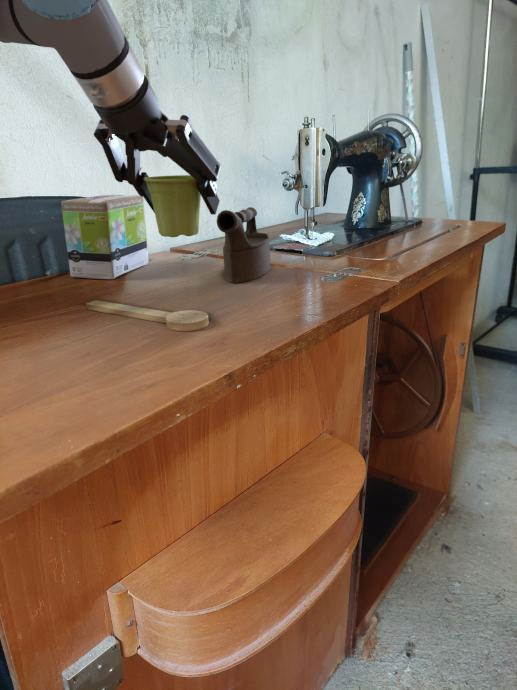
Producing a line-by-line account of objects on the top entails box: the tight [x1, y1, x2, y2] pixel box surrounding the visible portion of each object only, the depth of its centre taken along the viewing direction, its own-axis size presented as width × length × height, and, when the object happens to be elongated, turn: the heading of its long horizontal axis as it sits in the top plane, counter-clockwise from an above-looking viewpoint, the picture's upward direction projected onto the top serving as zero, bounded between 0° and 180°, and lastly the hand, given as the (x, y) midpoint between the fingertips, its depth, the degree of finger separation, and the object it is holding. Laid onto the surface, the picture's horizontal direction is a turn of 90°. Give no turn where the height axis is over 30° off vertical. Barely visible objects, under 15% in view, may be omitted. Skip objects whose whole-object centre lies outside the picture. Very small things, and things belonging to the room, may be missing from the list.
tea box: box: [60, 194, 149, 280], centre depth 104 cm, size 15×10×15 cm
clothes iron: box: [216, 206, 271, 284], centre depth 97 cm, size 8×16×13 cm, turn 164°
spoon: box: [85, 299, 210, 332], centre depth 77 cm, size 22×6×1 cm, turn 61°
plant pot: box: [143, 174, 202, 238], centre depth 80 cm, size 9×9×9 cm
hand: (186, 207), depth 83 cm, fingers closed on plant pot, 9 cm apart
